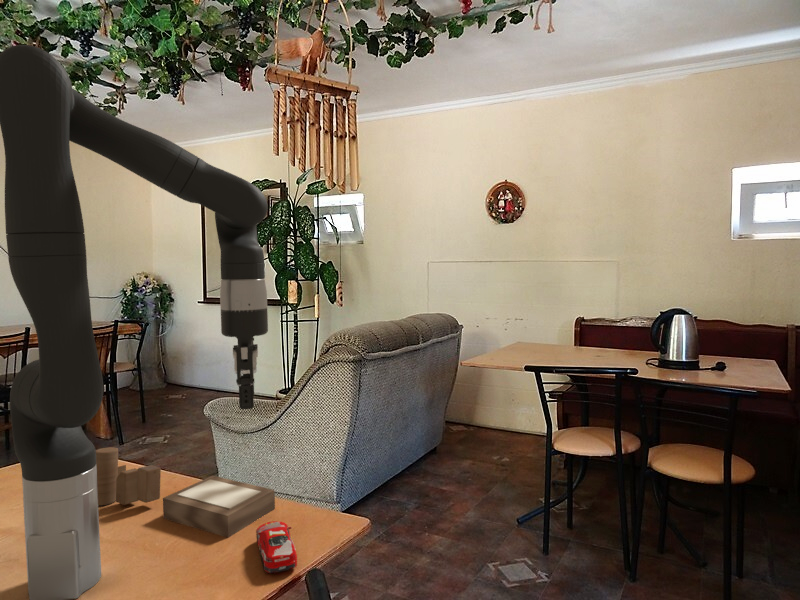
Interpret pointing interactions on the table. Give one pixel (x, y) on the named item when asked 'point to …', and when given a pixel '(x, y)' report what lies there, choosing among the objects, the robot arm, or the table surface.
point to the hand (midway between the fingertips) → (247, 402)
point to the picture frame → (219, 505)
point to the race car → (276, 547)
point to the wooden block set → (124, 480)
